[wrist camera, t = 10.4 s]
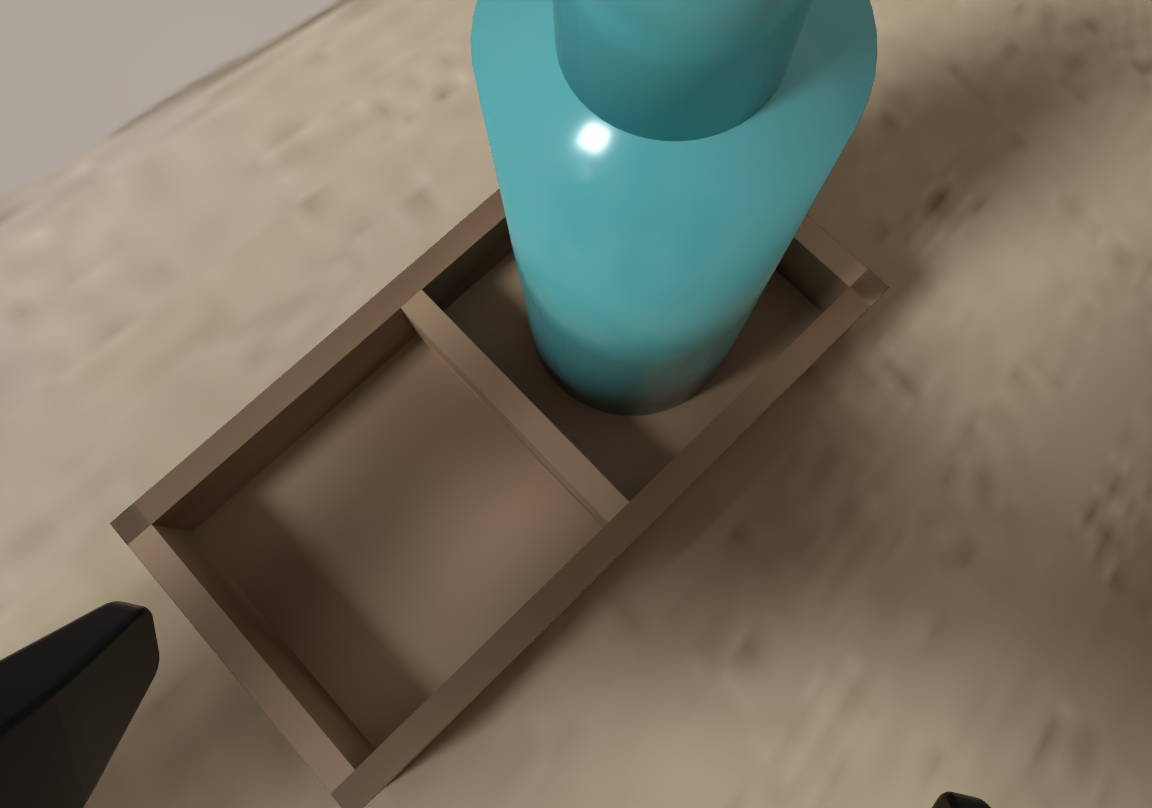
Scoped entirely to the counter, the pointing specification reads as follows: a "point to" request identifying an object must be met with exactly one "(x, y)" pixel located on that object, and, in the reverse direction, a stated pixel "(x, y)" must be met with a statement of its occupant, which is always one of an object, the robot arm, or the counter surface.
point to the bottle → (660, 170)
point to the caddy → (441, 495)
